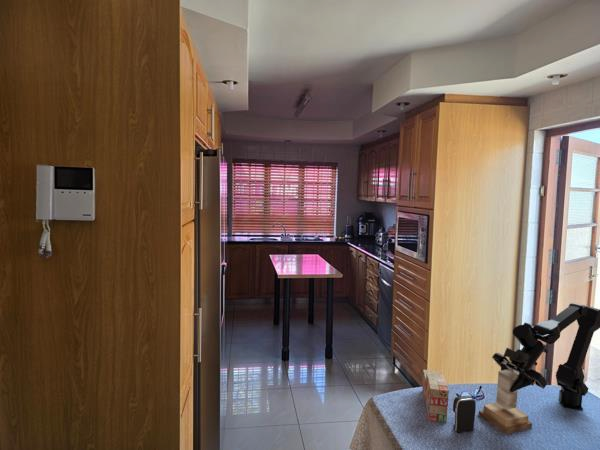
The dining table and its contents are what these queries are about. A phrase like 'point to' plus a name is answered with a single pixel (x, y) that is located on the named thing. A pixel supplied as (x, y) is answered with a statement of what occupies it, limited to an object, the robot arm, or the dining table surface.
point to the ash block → (506, 389)
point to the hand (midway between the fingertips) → (504, 388)
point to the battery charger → (464, 413)
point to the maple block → (505, 415)
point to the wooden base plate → (504, 429)
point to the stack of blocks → (435, 395)
